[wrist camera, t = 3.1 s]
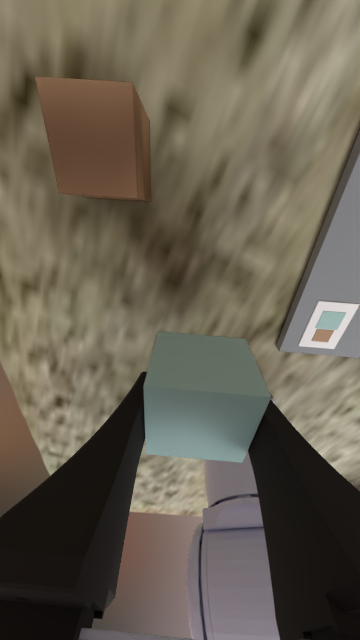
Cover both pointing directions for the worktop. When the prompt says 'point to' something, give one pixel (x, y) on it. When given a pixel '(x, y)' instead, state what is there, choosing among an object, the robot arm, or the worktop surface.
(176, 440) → the teal block
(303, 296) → the board
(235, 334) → the worktop surface
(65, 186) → the walnut cube
